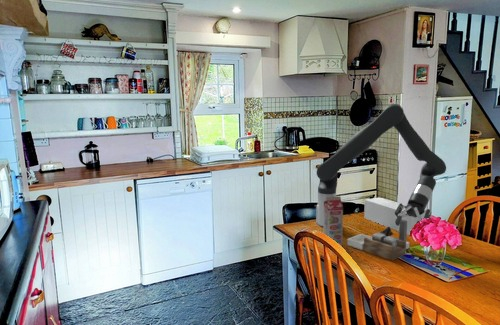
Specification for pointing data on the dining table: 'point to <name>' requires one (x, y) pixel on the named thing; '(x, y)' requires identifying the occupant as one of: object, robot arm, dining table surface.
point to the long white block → (387, 213)
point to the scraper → (403, 232)
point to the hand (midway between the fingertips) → (406, 227)
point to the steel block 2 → (391, 241)
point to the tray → (357, 241)
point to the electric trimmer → (386, 231)
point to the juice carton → (333, 218)
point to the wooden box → (385, 249)
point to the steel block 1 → (378, 237)
